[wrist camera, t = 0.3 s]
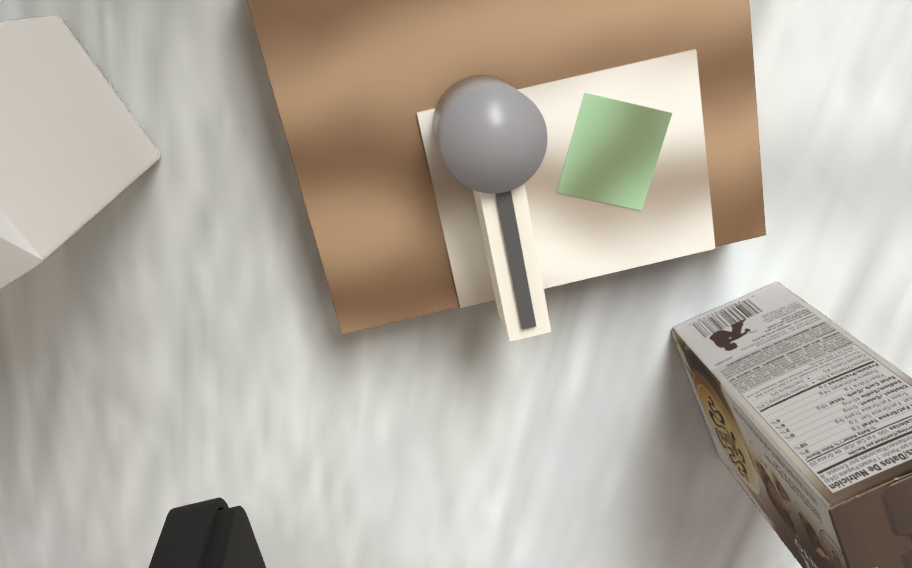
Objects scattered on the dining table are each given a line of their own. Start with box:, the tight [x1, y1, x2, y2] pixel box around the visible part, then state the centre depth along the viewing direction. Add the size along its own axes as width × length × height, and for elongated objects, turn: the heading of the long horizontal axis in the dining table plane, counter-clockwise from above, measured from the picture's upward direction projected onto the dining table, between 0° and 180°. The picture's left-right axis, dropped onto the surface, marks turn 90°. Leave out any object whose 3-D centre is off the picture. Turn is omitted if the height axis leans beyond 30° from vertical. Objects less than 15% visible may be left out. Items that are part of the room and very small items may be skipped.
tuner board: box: [247, 0, 766, 334], centre depth 36 cm, size 16×20×4 cm
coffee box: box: [672, 282, 912, 568], centre depth 37 cm, size 9×6×16 cm
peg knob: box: [433, 75, 551, 342], centre depth 34 cm, size 10×4×4 cm, turn 12°
